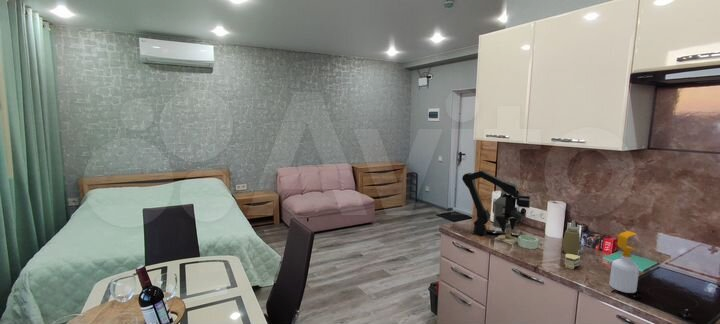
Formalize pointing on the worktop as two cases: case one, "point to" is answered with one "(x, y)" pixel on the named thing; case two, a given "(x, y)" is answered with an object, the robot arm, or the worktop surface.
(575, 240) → the squeeze bottle
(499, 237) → the lid
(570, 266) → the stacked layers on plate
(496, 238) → the mat
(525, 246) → the bowl
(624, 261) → the soap bottle
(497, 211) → the liquor
